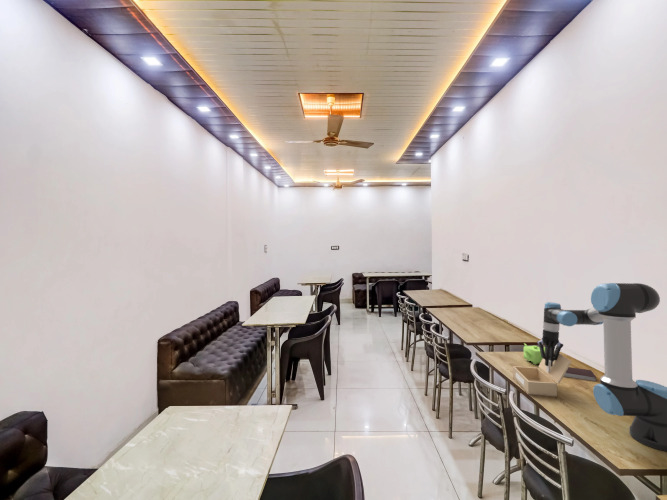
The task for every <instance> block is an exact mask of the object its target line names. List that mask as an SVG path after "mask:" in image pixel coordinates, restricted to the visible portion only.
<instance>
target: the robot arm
mask: <svg viewBox="0 0 667 500" xmlns="http://www.w3.org/2000/svg"><path fill="white" fill-rule="evenodd" d="M590 301H591V302H590V303H591V305H592V307H591V308H588V309H563V308H562V306H561V304H560V303H557V302H552V301H547V302H545V303H544V308H543V322H542V323H543V324H542V325H543V326H542V328H543V330H542V337H541V340H537V341H536V342H537V343H536V344H537V345H538V347H539V348H540V352H541V357H542V358H543V359H545V365H546V371H547V372H549V373H550V372H551V366H553V361H554V360H557V358H558V355H559V354H561V353H560V352H561V350H562V348H563V347H564V344H563V343H561V342H560V340H559V337H560V332H559V331H560V325H562V326H566V327H573V326H575V325H583V326H584V325H586V326H588V325H589V326H591V325H592V326H597V325H602V324H603V353H604V354H603V355H604V356H603V358H604V359H603V360H604V362H603V363H604V374H603V375H601V376H600V379H599V383H596V384H595V385H594V386H593V388H592V389H593V390H592V392H593V396H594V400H595V402H596V404H597V405H598V406H599V408H600V409H601V410H602V411H604V412H605V413H606V414H608V415H611V416H612V415H613V416H618V417H623V416H625V417H628V416H629V417H632V416H633V417H634V418H633V420H632V422H631V425H630V426H629V435H630V436H631V438H633V439H634V440H635V441H637V442H638V443H640V444H642V445H645V446H647V447H650V448H653V449H656V450H659V451H663V452H664V451H665V452H667V386H665V385H663V384H660V383H657V382H654V381H650V380H644V379H636V380H634V379H633V359H632V358H633V356H632V350H633V349H632V321H634V319H635V318H636V315H637V314H641V313H647V312H650V311H652V310H655V309H656V308H657V307H658V306H659V304H660V302H661V297H660V294H659V292H658V291H657V290H656V289H655V288H653V287H651V286H650V285H647V284H644V283H640V282H639V283H638V282H637V283H635V282H633V283H628V282H627V283H626V282H625V283H624V282H623V283H621V282H620V283H618V282H617V283H616V282H609V283H600V284H598V285H596V286H595V288H593V290H592V292H591V296H590ZM544 347H545V352H544ZM554 350H555V352H554Z"/></svg>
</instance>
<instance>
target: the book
mask: <svg viewBox="0 0 667 500" xmlns="http://www.w3.org/2000/svg"><path fill="white" fill-rule="evenodd" d="M563 378H572V379H580V380H587V381H594V382H597V380H596V378H597V376H596V375H595V373H594V372H593V371H592V370H591V369H584V368H577V367H570V366H569V367H568V369H567V371H566V373H565V375H564V376H563Z"/></svg>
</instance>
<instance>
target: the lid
mask: <svg viewBox="0 0 667 500" xmlns="http://www.w3.org/2000/svg"><path fill="white" fill-rule="evenodd" d="M554 352H555V349H554ZM538 364H539V365H538V367H537V368H539V369H540V370H542V371H543V372H544V373H545V374H546V375H547V376H549V377H550V378H551V379H552V380H553V381H555V382H556V383H557V384H561V382H562V380H563V378H564V375H565V373H566V371H567V369H568V367H570V366H571V364H572V360H570V359H568V357H565V356H564V355H562V354H561V353H559V355H558V358H557V360H554V361H553V366H551V372H550V373H549V372H547V371H546V365H545V359H542V361H541V363H538Z"/></svg>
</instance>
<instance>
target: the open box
mask: <svg viewBox="0 0 667 500" xmlns="http://www.w3.org/2000/svg"><path fill="white" fill-rule="evenodd" d="M512 379H513V380H514V379H515V380H516V381H517V382H518V383H519V384H518V383H517V382H516V381H515V380H514V381H515V382H516V383H517V384H518V385H519V386H520V388H521V389H522V390H523V391H524V392H525V393H526V394H527V395H530V396H541V397H542V396H544V397H558V382H556V381H555V380H554V379H553V378H551V377H550V376H549V375H548V374H547V373H545V372H544V371H543V370H542V369H541V368H539V367H530V366H516V365H515V366H514V365H513V366H512Z"/></svg>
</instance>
